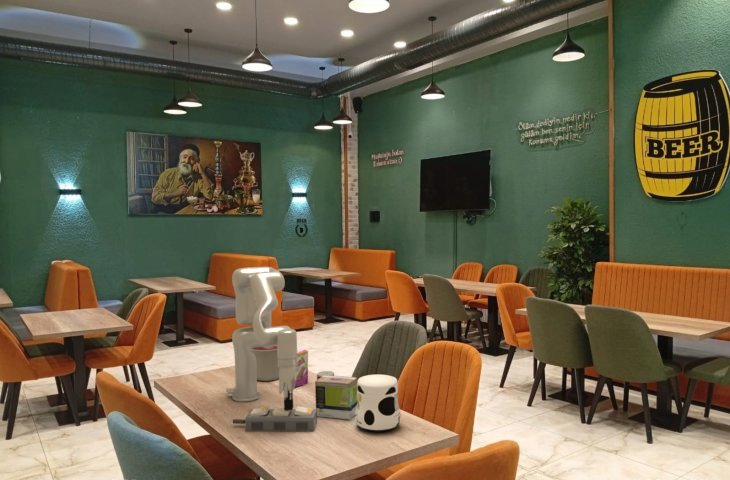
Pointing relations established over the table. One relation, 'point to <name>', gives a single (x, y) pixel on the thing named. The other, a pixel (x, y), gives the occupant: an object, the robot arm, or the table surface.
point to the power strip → (279, 422)
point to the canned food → (324, 374)
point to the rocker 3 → (303, 411)
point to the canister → (266, 363)
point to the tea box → (336, 396)
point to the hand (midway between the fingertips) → (288, 409)
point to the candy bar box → (301, 368)
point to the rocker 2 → (281, 412)
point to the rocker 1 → (260, 411)
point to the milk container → (377, 403)
